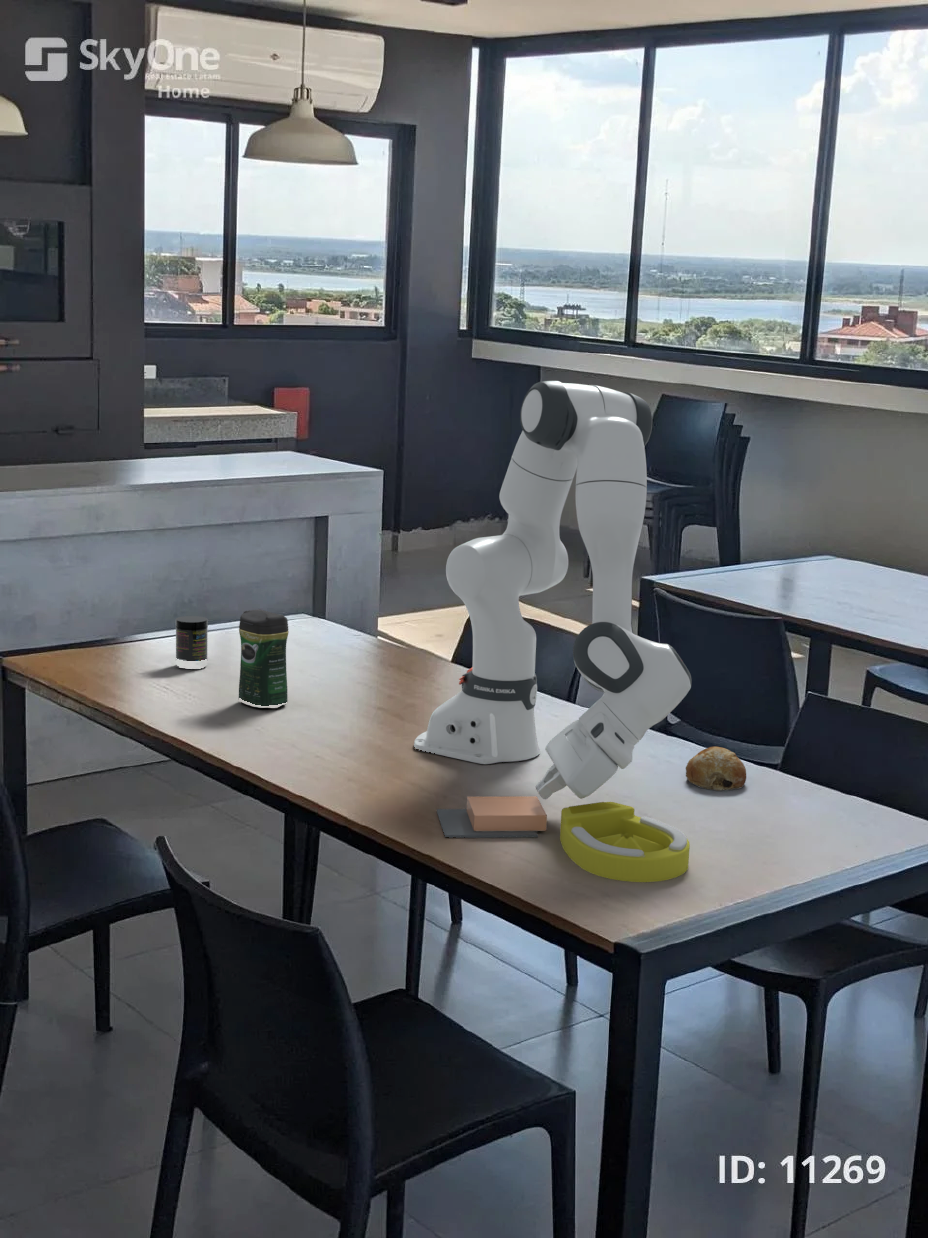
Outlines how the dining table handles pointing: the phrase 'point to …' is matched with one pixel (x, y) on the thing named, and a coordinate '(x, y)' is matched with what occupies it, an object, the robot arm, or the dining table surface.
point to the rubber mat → (460, 826)
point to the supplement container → (191, 638)
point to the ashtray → (622, 843)
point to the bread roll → (716, 769)
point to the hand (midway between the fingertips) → (539, 793)
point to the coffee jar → (263, 657)
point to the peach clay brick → (506, 813)
